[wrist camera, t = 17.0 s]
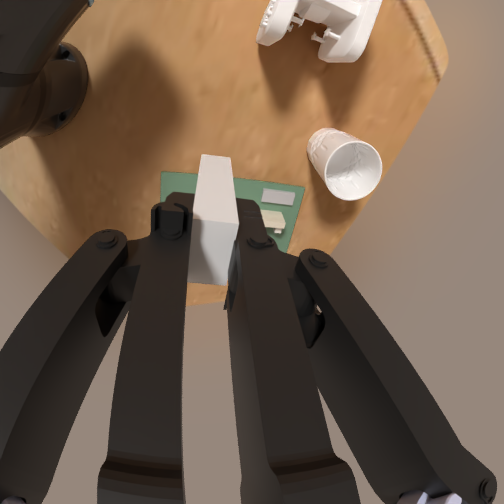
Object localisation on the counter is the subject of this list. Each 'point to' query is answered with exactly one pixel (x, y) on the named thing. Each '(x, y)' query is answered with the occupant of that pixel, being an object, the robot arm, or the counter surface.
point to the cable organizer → (326, 12)
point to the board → (259, 191)
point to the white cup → (344, 163)
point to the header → (273, 220)
